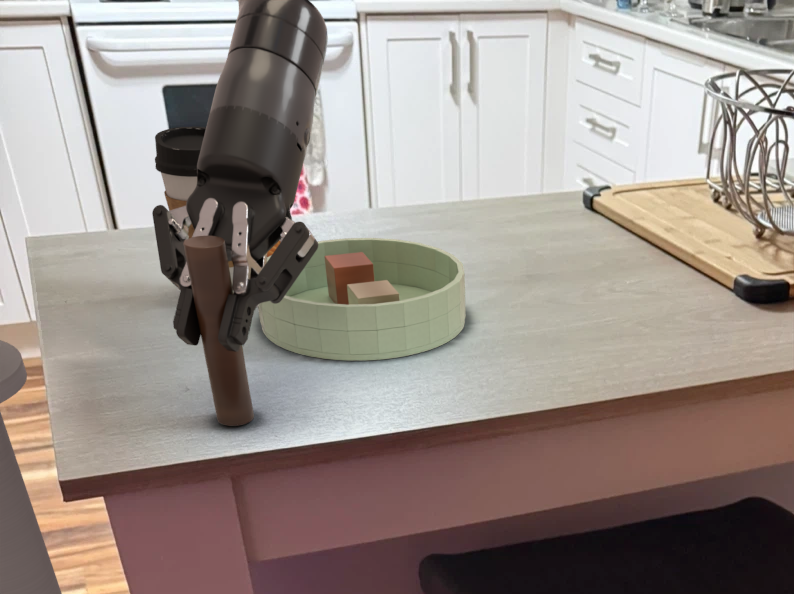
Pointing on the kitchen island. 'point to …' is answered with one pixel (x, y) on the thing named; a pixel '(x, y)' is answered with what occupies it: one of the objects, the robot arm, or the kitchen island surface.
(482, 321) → the kitchen island surface
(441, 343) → the bowl
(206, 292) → the brown tall cylinder
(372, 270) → the block terracotta
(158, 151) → the coffee cup
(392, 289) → the block cream
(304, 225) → the robot arm
